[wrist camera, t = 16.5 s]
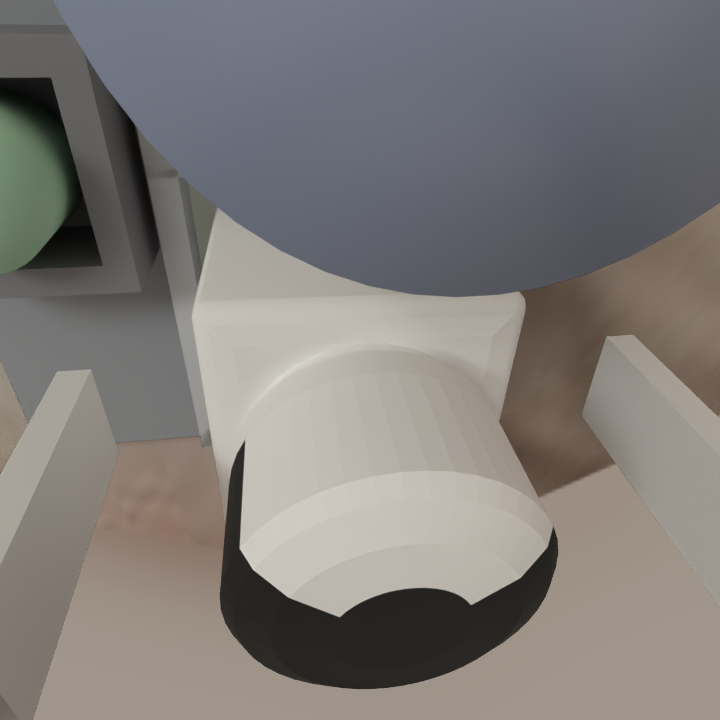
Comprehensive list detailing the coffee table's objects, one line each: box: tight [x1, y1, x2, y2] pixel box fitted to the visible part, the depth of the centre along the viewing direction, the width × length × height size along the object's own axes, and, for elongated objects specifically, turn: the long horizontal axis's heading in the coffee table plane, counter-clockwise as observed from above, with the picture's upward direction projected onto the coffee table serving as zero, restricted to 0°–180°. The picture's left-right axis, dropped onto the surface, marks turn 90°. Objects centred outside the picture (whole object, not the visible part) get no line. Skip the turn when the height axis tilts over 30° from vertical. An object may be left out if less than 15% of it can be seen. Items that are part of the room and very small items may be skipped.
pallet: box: [0, 0, 217, 447], centre depth 15 cm, size 18×22×4 cm
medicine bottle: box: [192, 207, 558, 689], centre depth 14 cm, size 7×7×12 cm
